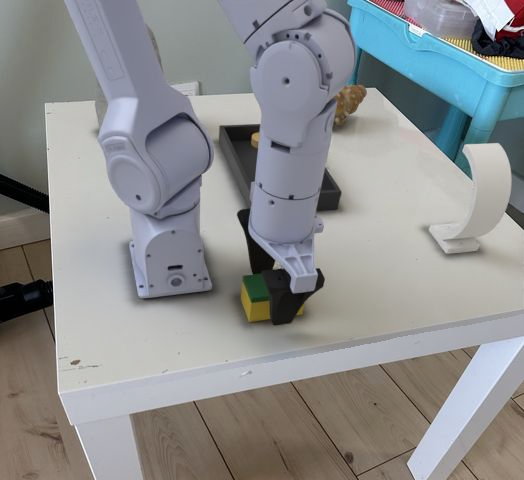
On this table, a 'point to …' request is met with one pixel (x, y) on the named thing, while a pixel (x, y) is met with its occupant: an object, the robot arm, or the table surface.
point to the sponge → (256, 298)
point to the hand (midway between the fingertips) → (270, 296)
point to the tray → (245, 160)
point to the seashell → (348, 102)
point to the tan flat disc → (255, 140)
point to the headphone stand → (479, 199)
